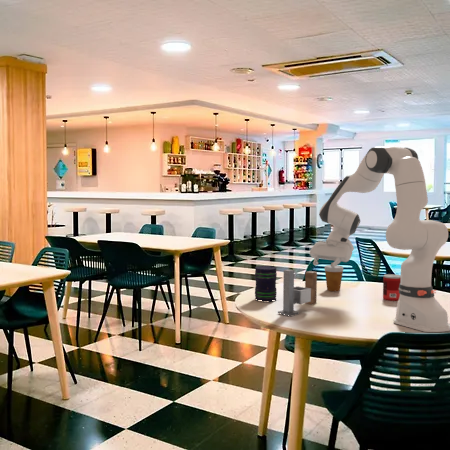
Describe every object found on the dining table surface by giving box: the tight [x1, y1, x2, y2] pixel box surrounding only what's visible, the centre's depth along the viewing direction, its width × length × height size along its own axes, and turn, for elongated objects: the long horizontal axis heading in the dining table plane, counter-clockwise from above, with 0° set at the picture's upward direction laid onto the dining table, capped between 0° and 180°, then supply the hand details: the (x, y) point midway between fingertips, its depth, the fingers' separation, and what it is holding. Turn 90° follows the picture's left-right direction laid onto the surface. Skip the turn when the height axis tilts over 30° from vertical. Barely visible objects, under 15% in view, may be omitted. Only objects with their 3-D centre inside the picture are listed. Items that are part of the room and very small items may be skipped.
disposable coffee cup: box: [323, 264, 344, 292], centre depth 258 cm, size 10×10×12 cm
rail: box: [304, 270, 318, 305], centre depth 230 cm, size 4×4×14 cm
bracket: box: [277, 268, 311, 317], centre depth 213 cm, size 14×7×18 cm, turn 136°
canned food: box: [382, 273, 401, 302], centre depth 238 cm, size 8×8×11 cm
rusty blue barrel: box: [254, 265, 277, 301], centre depth 236 cm, size 10×10×15 cm
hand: (323, 265), depth 236 cm, fingers open, 8 cm apart
